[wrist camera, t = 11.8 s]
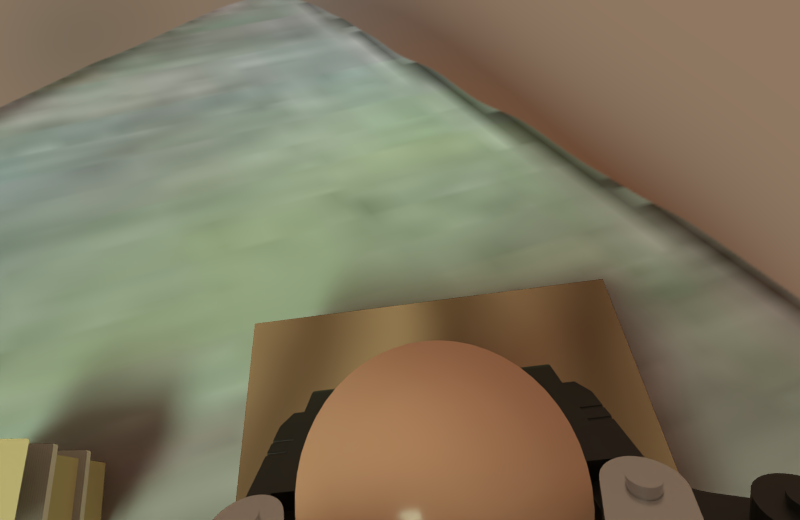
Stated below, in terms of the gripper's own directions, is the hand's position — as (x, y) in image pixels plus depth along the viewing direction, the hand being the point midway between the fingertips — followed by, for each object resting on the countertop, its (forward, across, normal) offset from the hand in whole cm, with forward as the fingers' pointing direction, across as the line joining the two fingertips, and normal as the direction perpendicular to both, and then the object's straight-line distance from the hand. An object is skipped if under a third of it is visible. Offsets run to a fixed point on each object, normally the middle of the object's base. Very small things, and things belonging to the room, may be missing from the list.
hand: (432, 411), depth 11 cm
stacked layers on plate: (+8, +20, +8) cm, 24 cm away
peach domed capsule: (+2, 0, +4) cm, 5 cm away
